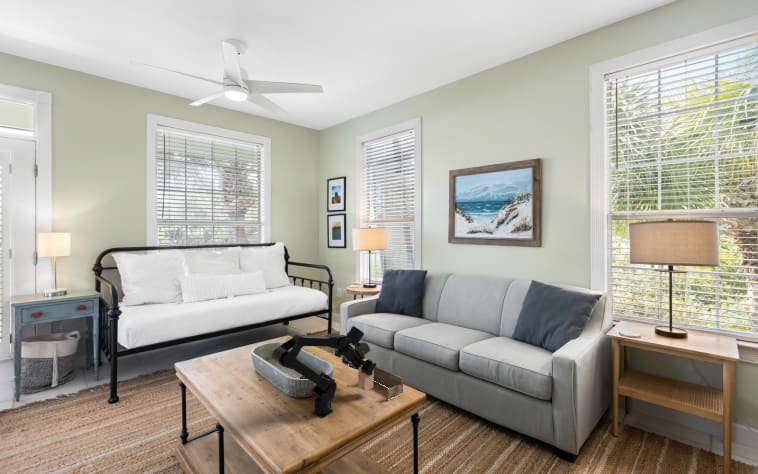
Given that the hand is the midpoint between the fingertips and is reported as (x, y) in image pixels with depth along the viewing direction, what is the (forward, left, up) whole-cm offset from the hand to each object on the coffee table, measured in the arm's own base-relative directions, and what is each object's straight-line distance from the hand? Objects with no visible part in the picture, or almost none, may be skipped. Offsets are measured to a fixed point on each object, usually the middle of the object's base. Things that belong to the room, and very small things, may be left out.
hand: (368, 372), depth 163 cm
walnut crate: (+7, -2, -10) cm, 13 cm away
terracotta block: (-1, 0, -7) cm, 7 cm away
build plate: (-11, +31, -11) cm, 35 cm away
